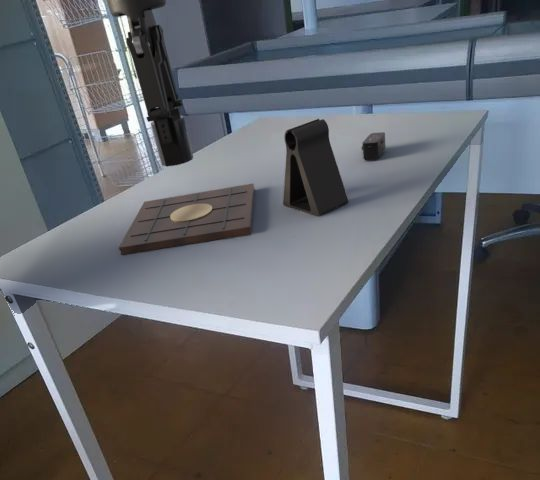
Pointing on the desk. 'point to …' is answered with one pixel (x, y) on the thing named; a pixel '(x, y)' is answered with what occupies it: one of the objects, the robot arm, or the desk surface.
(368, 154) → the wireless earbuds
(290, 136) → the black triangular stand
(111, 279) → the desk surface
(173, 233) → the grid board
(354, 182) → the desk surface
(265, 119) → the desk surface
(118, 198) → the desk surface
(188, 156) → the dark grey canister
